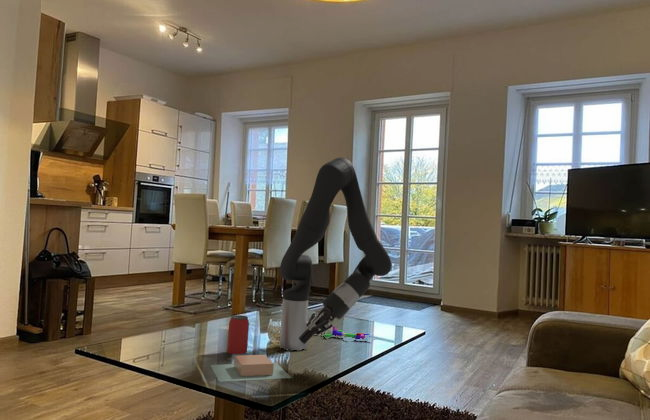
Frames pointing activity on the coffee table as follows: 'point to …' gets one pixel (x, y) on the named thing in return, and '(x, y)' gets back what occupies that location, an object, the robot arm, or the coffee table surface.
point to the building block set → (339, 333)
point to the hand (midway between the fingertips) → (301, 341)
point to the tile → (253, 365)
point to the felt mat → (231, 374)
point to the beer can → (238, 335)
